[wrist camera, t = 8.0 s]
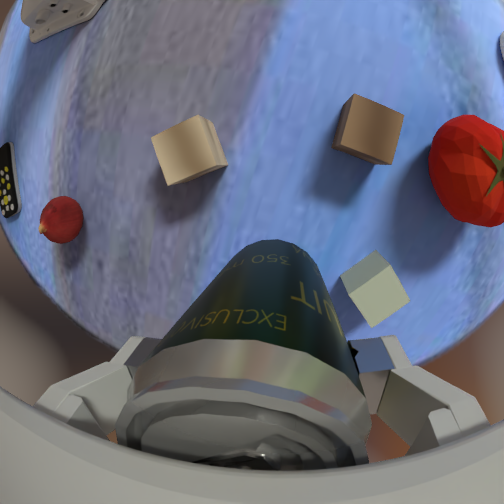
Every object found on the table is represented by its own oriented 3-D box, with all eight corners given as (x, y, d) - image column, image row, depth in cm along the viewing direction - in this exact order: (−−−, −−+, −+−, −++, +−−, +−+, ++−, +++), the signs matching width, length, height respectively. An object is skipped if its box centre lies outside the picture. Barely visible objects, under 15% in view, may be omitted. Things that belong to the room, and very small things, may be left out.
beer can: (256, 341, 16) (208, 525, 5) (208, 266, 16) (63, 404, 4) (336, 301, 15) (403, 487, 4) (291, 218, 15) (307, 307, 3)
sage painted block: (361, 305, 31) (371, 328, 26) (339, 275, 30) (348, 294, 25) (394, 281, 29) (410, 300, 25) (375, 249, 29) (390, 264, 24)
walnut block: (331, 147, 26) (340, 144, 21) (343, 105, 25) (354, 93, 20) (374, 164, 26) (391, 164, 21) (386, 122, 24) (404, 115, 20)
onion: (60, 208, 32) (20, 221, 24) (81, 183, 30) (39, 192, 23) (79, 242, 33) (40, 261, 25) (101, 219, 31) (60, 235, 24)
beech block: (186, 182, 29) (167, 185, 24) (171, 141, 28) (150, 137, 23) (228, 165, 28) (216, 165, 23) (212, 122, 27) (198, 114, 22)
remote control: (15, 139, 30) (7, 139, 28) (24, 209, 33) (16, 212, 31) (0, 152, 31) (-8, 153, 29) (9, 218, 34) (1, 220, 32)
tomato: (497, 177, 23) (550, 187, 14) (449, 236, 27) (500, 265, 17) (447, 100, 22) (500, 84, 12) (393, 158, 25) (441, 158, 16)
